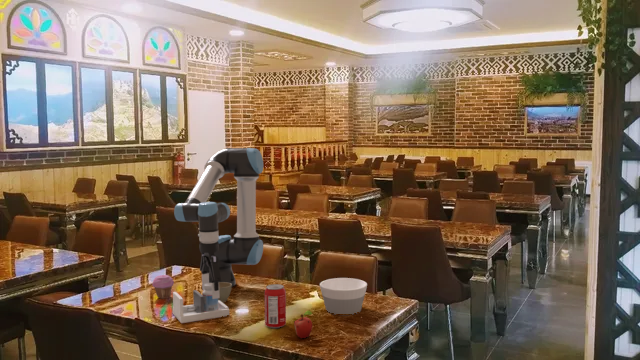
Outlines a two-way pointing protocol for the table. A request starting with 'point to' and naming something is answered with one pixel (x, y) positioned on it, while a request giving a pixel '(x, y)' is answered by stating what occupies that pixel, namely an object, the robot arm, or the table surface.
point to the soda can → (275, 306)
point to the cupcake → (163, 286)
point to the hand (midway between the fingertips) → (210, 293)
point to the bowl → (343, 295)
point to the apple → (303, 325)
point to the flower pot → (224, 291)
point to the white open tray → (190, 316)
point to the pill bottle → (209, 299)
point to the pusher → (197, 302)
